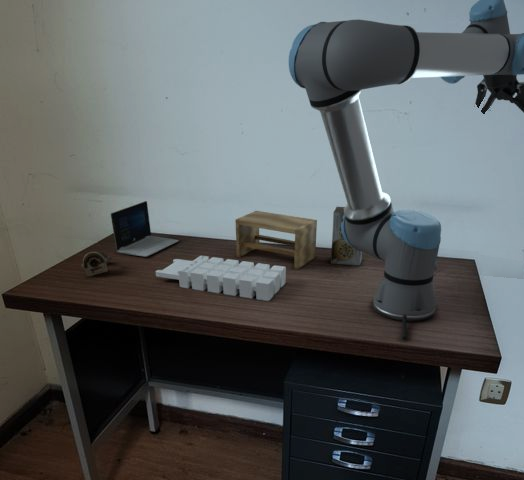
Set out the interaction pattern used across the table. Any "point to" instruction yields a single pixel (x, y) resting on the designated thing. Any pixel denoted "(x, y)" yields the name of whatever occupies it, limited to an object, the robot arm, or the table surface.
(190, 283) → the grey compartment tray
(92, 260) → the brown rounded piece
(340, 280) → the table surface
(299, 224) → the two-tier rack
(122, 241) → the laptop
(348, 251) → the coffee box
